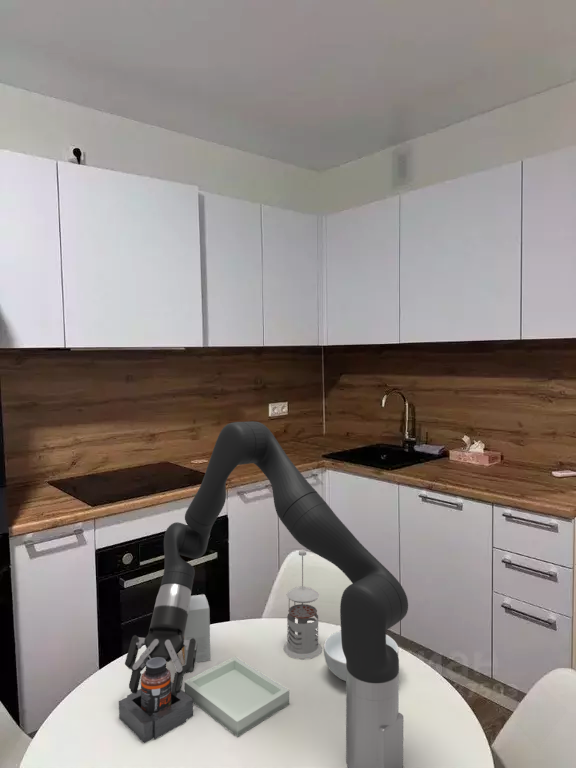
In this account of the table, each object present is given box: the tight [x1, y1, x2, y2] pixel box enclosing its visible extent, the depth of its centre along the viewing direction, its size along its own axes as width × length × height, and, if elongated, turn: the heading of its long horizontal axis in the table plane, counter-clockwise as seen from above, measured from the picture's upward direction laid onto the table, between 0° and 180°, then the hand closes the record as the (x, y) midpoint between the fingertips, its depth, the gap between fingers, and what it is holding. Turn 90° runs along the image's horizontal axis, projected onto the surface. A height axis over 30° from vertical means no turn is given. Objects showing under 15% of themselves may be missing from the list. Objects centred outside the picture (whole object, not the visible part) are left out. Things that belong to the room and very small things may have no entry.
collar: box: [118, 681, 194, 744], centre depth 107 cm, size 11×11×4 cm
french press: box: [282, 549, 323, 660], centre depth 133 cm, size 10×12×25 cm
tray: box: [183, 656, 290, 738], centre depth 112 cm, size 18×14×3 cm
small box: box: [181, 594, 211, 665], centre depth 130 cm, size 8×6×13 cm
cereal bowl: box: [323, 629, 399, 682], centre depth 121 cm, size 17×17×7 cm
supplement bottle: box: [140, 657, 172, 716], centre depth 107 cm, size 6×6×11 cm
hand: (153, 693), depth 105 cm, fingers open, 8 cm apart
